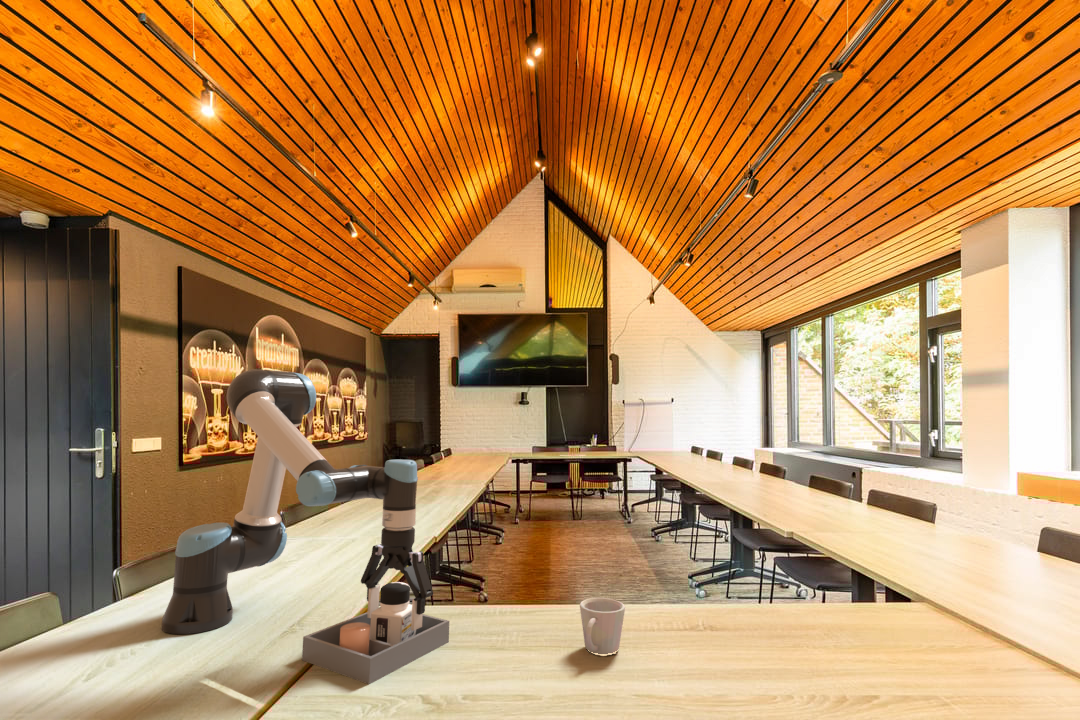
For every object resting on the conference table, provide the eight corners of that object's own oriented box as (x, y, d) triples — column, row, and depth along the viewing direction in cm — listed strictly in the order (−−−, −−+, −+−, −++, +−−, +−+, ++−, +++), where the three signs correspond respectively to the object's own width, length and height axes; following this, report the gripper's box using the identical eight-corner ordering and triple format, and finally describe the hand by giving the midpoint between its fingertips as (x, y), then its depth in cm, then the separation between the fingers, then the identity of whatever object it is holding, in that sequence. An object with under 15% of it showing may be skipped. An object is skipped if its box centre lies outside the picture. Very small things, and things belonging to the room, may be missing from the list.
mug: (630, 645, 131) (630, 601, 132) (610, 671, 117) (611, 622, 118) (588, 637, 135) (588, 594, 136) (564, 661, 122) (565, 613, 123)
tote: (301, 663, 118) (303, 636, 119) (385, 627, 139) (386, 604, 139) (369, 688, 108) (370, 658, 109) (448, 645, 129) (449, 620, 129)
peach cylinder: (332, 664, 116) (334, 629, 117) (354, 654, 122) (356, 620, 122) (352, 671, 113) (354, 635, 114) (374, 660, 119) (376, 626, 119)
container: (400, 652, 123) (402, 591, 124) (368, 648, 125) (371, 587, 126) (416, 638, 130) (418, 581, 132) (386, 635, 132) (389, 578, 133)
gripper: (348, 523, 133) (343, 616, 131) (428, 536, 121) (424, 639, 118) (372, 518, 139) (368, 607, 137) (450, 531, 127) (447, 628, 125)
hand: (394, 622), depth 128 cm, fingers open, 13 cm apart
